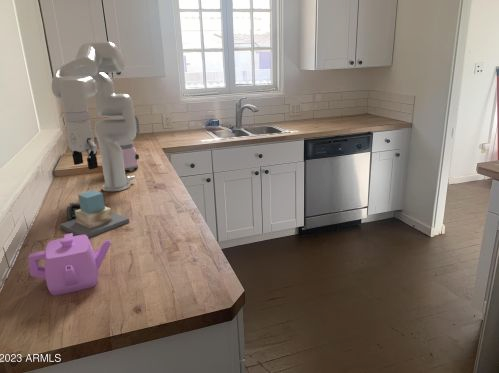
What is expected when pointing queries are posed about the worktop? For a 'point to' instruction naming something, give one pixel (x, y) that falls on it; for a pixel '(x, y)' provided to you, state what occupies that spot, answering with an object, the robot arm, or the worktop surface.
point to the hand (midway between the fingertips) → (85, 166)
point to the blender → (128, 148)
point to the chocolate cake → (72, 211)
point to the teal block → (91, 201)
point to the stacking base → (96, 229)
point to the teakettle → (68, 264)
